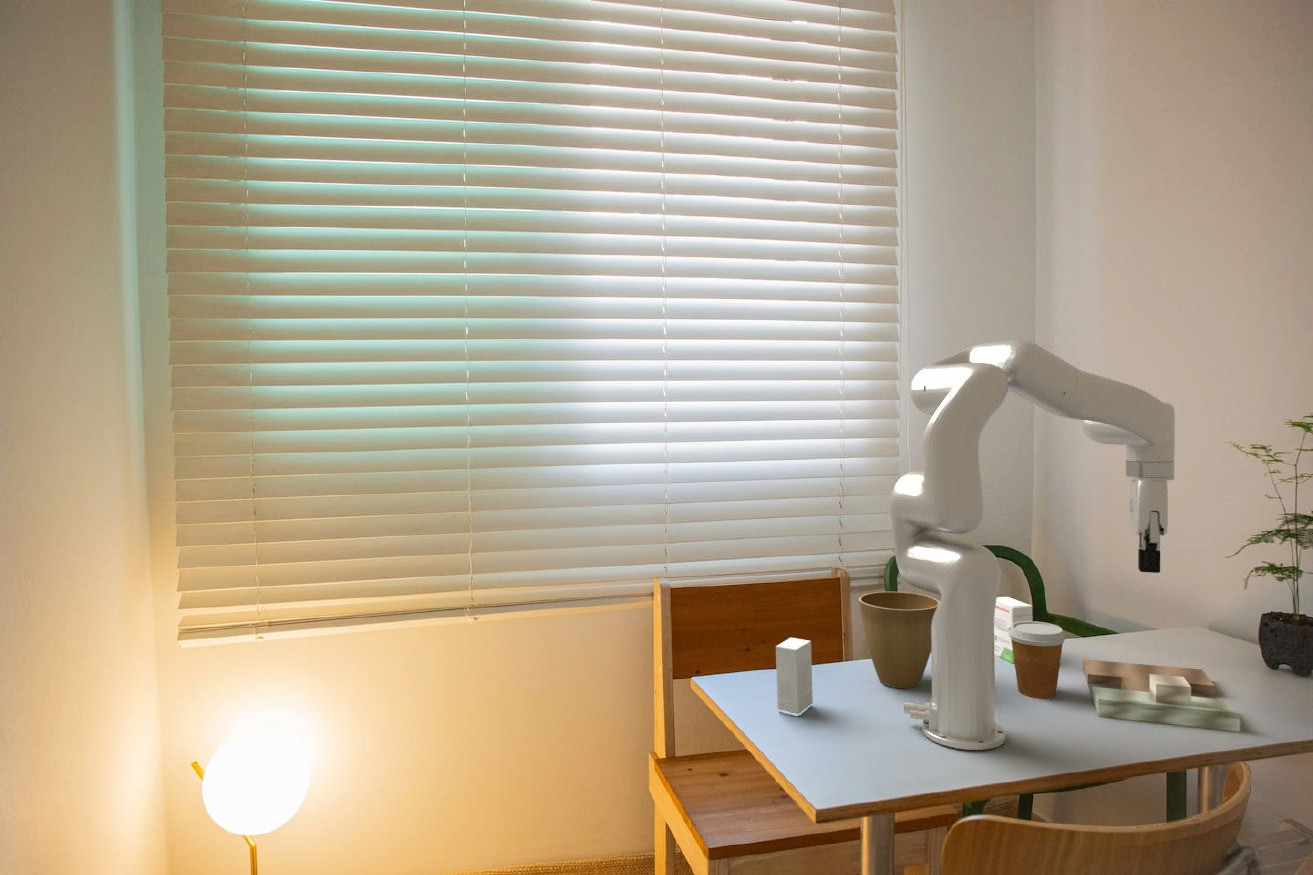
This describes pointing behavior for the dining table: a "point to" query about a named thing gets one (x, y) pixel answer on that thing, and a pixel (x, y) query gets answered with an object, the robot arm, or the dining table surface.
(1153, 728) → the dining table surface
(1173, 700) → the block
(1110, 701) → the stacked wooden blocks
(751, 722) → the dining table surface
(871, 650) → the plant pot
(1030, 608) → the ink box
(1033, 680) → the disposable coffee cup
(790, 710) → the skincare box
